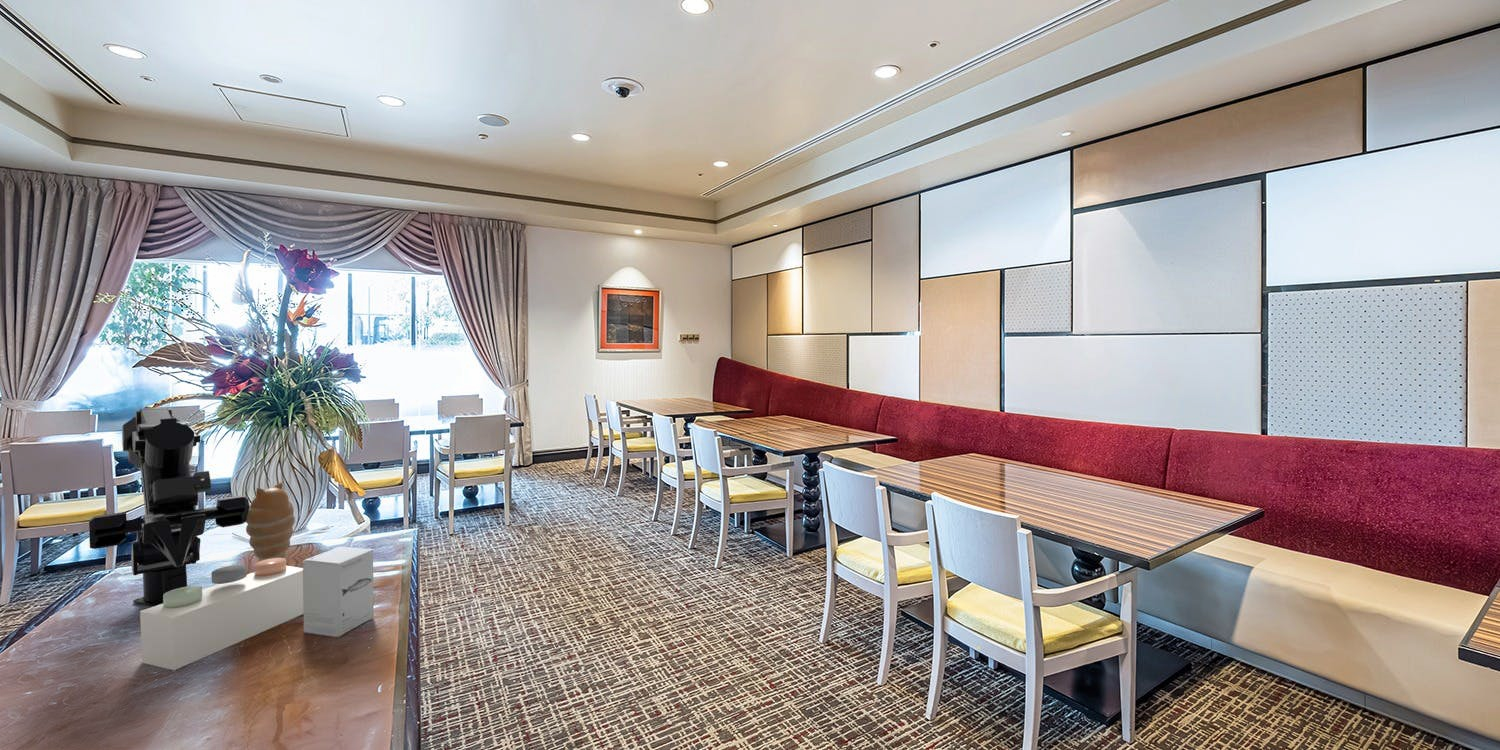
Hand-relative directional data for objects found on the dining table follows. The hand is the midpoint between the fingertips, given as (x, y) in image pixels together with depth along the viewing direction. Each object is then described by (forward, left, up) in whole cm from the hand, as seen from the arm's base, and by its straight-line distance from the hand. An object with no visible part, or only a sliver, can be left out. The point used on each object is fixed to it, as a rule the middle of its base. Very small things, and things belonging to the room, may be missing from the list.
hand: (179, 565), depth 94 cm
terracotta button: (+3, +11, -5) cm, 13 cm away
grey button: (+3, +5, -4) cm, 7 cm away
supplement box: (+18, +12, -13) cm, 25 cm away
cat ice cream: (-19, +27, -13) cm, 36 cm away
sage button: (+3, -2, -5) cm, 6 cm away
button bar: (+4, +4, -13) cm, 14 cm away
